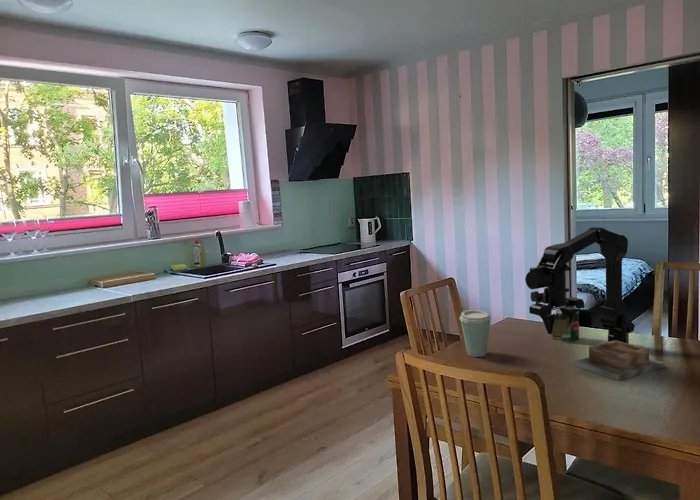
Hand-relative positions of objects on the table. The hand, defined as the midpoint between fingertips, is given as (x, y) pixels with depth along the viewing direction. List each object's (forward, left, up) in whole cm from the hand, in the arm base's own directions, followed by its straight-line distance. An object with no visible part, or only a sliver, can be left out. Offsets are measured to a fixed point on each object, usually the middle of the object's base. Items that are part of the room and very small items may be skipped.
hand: (557, 331), depth 175 cm
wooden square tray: (-11, +14, -10) cm, 20 cm away
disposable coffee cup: (+17, -21, -10) cm, 29 cm away
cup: (0, 0, -3) cm, 3 cm away
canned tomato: (-20, -15, -10) cm, 27 cm away
